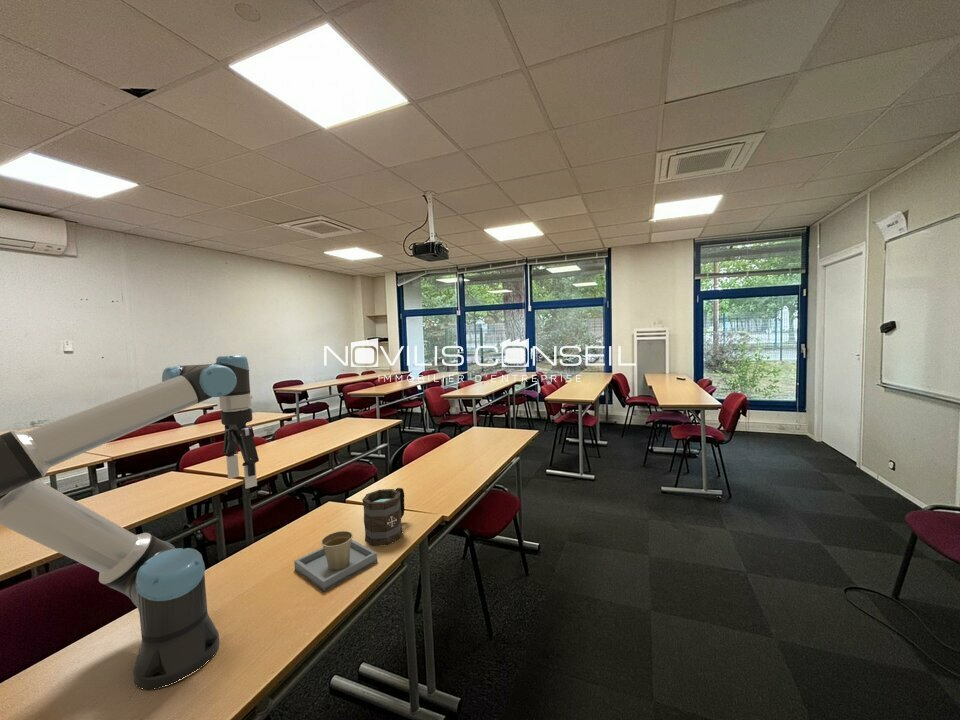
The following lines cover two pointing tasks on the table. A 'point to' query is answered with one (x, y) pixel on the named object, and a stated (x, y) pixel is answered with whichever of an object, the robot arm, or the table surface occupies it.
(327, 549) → the flower pot
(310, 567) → the tray
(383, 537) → the mug
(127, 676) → the table surface
